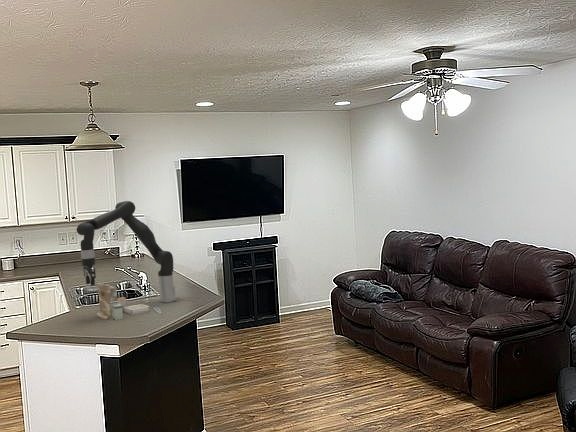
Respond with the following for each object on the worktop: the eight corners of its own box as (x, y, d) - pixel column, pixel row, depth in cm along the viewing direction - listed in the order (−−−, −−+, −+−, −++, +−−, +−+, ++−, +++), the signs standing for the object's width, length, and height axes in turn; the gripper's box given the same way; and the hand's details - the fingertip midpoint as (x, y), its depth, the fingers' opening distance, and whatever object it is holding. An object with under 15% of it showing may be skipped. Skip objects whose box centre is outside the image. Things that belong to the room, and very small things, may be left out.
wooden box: (111, 312, 373) (109, 281, 372) (121, 316, 360) (118, 284, 359) (96, 315, 367) (94, 283, 366) (105, 319, 354) (103, 286, 353)
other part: (120, 317, 358) (119, 304, 357) (123, 318, 354) (121, 305, 354) (113, 318, 355) (112, 305, 355) (116, 320, 352) (115, 306, 351)
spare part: (124, 309, 380) (123, 297, 379) (126, 310, 376) (125, 297, 376) (118, 310, 377) (117, 298, 377) (120, 311, 374) (119, 298, 373)
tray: (142, 308, 379) (141, 304, 379) (149, 311, 369) (149, 306, 369) (124, 312, 372) (123, 307, 372) (131, 314, 363) (131, 310, 362)
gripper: (98, 257, 352) (101, 284, 353) (90, 255, 364) (93, 282, 365) (85, 259, 348) (88, 287, 349) (77, 257, 359) (80, 284, 360)
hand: (90, 284), depth 357 cm, fingers open, 8 cm apart
